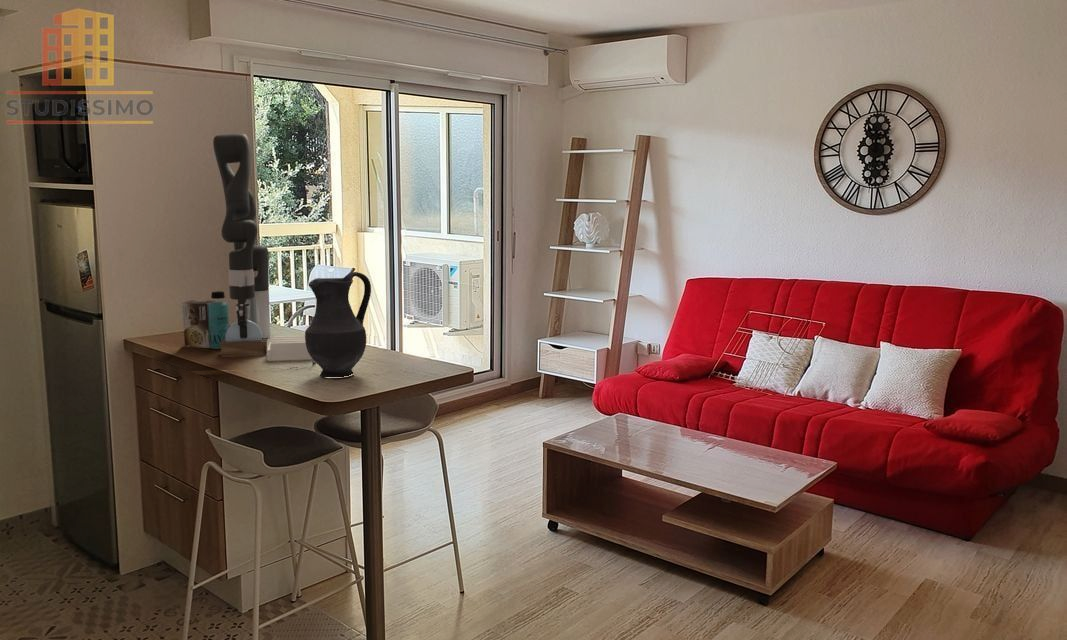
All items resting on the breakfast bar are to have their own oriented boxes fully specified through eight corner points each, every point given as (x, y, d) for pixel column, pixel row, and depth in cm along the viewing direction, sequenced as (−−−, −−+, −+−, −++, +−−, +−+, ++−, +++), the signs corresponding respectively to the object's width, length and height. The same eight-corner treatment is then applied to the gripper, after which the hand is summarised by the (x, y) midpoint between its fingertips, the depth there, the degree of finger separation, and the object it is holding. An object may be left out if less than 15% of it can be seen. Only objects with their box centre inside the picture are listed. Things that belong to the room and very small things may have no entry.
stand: (223, 356, 268) (222, 339, 267) (267, 355, 271) (267, 338, 271) (221, 360, 262) (220, 342, 262) (266, 358, 266) (265, 341, 265)
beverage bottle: (205, 351, 275) (202, 291, 272) (221, 348, 281) (218, 289, 277) (219, 354, 272) (216, 293, 269) (235, 350, 278) (232, 291, 274)
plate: (226, 353, 266) (225, 320, 265) (262, 352, 269) (261, 319, 267) (226, 354, 265) (224, 320, 263) (262, 353, 267) (261, 319, 266)
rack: (270, 356, 270) (269, 336, 269) (316, 354, 274) (316, 335, 273) (267, 364, 258) (266, 343, 257) (316, 362, 261) (315, 342, 260)
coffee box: (219, 347, 282) (217, 300, 280) (209, 351, 276) (207, 303, 273) (193, 346, 283) (191, 299, 281) (183, 350, 277) (181, 302, 274)
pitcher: (295, 375, 244) (292, 273, 240) (354, 364, 260) (352, 268, 255) (328, 385, 233) (326, 278, 228) (388, 373, 248) (387, 273, 243)
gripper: (231, 281, 269) (233, 333, 272) (226, 286, 256) (229, 341, 259) (256, 280, 271) (258, 333, 273) (252, 286, 257) (254, 341, 260)
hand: (244, 337), depth 266 cm, fingers closed on plate, 1 cm apart
